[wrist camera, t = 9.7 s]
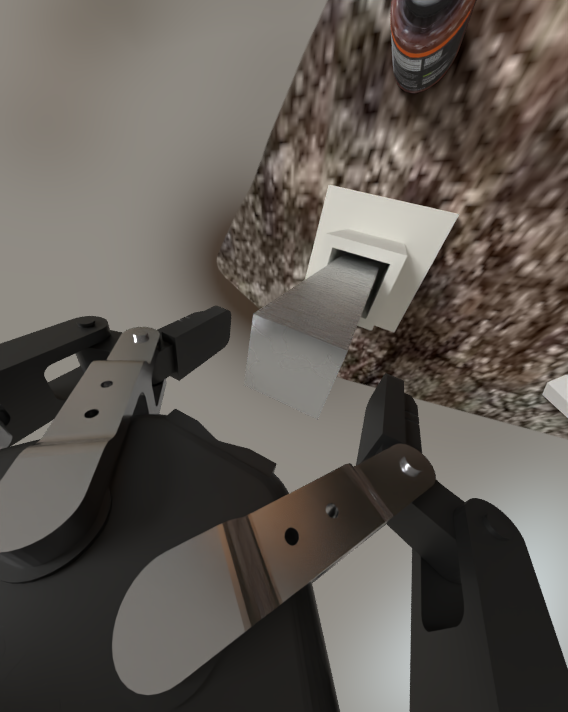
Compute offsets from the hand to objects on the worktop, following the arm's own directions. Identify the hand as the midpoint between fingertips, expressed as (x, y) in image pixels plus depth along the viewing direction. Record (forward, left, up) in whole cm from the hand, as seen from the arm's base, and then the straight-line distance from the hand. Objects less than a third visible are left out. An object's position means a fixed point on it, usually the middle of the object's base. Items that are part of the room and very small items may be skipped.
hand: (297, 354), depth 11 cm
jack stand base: (0, 0, -29) cm, 29 cm away
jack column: (0, 0, -20) cm, 20 cm away
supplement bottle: (+2, -20, -29) cm, 35 cm away
